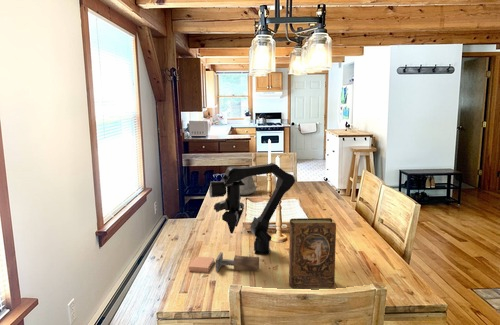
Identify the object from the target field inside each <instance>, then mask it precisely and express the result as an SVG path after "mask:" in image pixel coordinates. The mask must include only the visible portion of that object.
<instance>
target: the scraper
mask: <svg viewBox="0 0 500 325" xmlns="http://www.w3.org/2000/svg"><path fill="white" fill-rule="evenodd" d="M223 256H224V254H223V252H221V251H220V252H219V254H218V256H217V257H216V259H215V272H217V273H219V271H220V269H221V268H222V266H233V271H241V272H242V271H245V272H246V271H247V272H259V271H260V257H259V256H247V255H235V256H234V257H233V259H230V258H229V259H226V258H224V257H223Z"/></svg>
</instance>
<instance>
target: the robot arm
mask: <svg viewBox="0 0 500 325" xmlns="http://www.w3.org/2000/svg"><path fill="white" fill-rule="evenodd" d="M267 174H272V175H274V176H275V177H276V178H277V179H276V180H275V188H274V190H273V192H272V194H271V196H270V198H269V200H268V202H266V205H265V206H264V209H263V210H262V212H261V213H260V215H259V216H258V217H256V216H254V217H253V219H252V222H251V223H250V228H249V230H250V232H251V233H252V234H253V236H254V237H255V240H254V242H253V250H254V254H255V255H269V254H270V251H271V248H270V246H271V245H270V242H271V241H272V236H271V234H269V233H268V231H269V226H270V221H271V218H272V217H273V215H274V213H275V212H276V209H278V208H277V207H278V206H279V204H280V202H281V200H282V199H283V197H284V195H285V194H286V193H287V192H288V191H290V189H292V187H293V186H294V185H295V182H296V179H295V177H294V175H293V174H292V173H288V172H287V171H285V170H283V169H282V168H281V167H280V166H279V165H277V164H276V163H274V162H270V163H266V164H259V165H252V166H251V165H250V166H249V167H239V166H236V165H235V166H234V165H232V166H231V165H230V166H227V168H226V170H225V173H224V175H223V176H222V178H221V180H220V181H215V180H213V181H211V180H210V184H209V189H208V192H209V193H208V194H209V197H210V198H221V197H224V196H226V198H225V200H221V201H219V202H215V204H214V205H213V210H214V211H215V212H216V213H219V212H221V211H223V210H225V211H224V213H223V214H222V215H221V217H222V218H221V219H222V221H223V222H225V223H226V224H227V226H228V230H229V232H230V234H234V231H235V228H236V227H238V225H239V223H240V221H241V217H242V215H243V213H244V209H245V204H244V203H243V202H241V199H242V196H241V195H240V186H242V185H245V184H244V183H243V182H242V181H241V180H242V179H244V178H246V177H249V176H253V177H254V176H261V175H267Z"/></svg>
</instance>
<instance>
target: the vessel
mask: <svg viewBox="0 0 500 325" xmlns="http://www.w3.org/2000/svg"><path fill="white" fill-rule="evenodd" d="M238 167H250V166H249V165H247V166H245V165H241V166H238ZM241 181H242V182H243V183H244V184H245V185H242V186H240V196H248V195H251V194H254V193H255V192H256V190H257V188H258V186H257V185H256V184H255V181H254V176H249V177H246V178H244V179H242V180H241Z"/></svg>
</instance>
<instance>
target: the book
mask: <svg viewBox="0 0 500 325" xmlns="http://www.w3.org/2000/svg"><path fill="white" fill-rule="evenodd" d="M336 235H337V223H336V222H334V221H333V218H331V217H319V218H318V217H312V218H311V217H310V218H309V217H308V218H307V217H306V218H303V217H302V218H297V217H296V218H290V219H289V244H288V245H289V249H288V252H289V253H288V254H289V255H288V256H289V259H288V260H289V264H288V265H289V267H288V269H289V270H288V287H290V288H291V289H320V288H321V289H322V288H323V289H325V288H326V289H327V288H333V287H335V281H336V280H335V278H336V242H337V241H336V240H337V239H336V237H337V236H336Z"/></svg>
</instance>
